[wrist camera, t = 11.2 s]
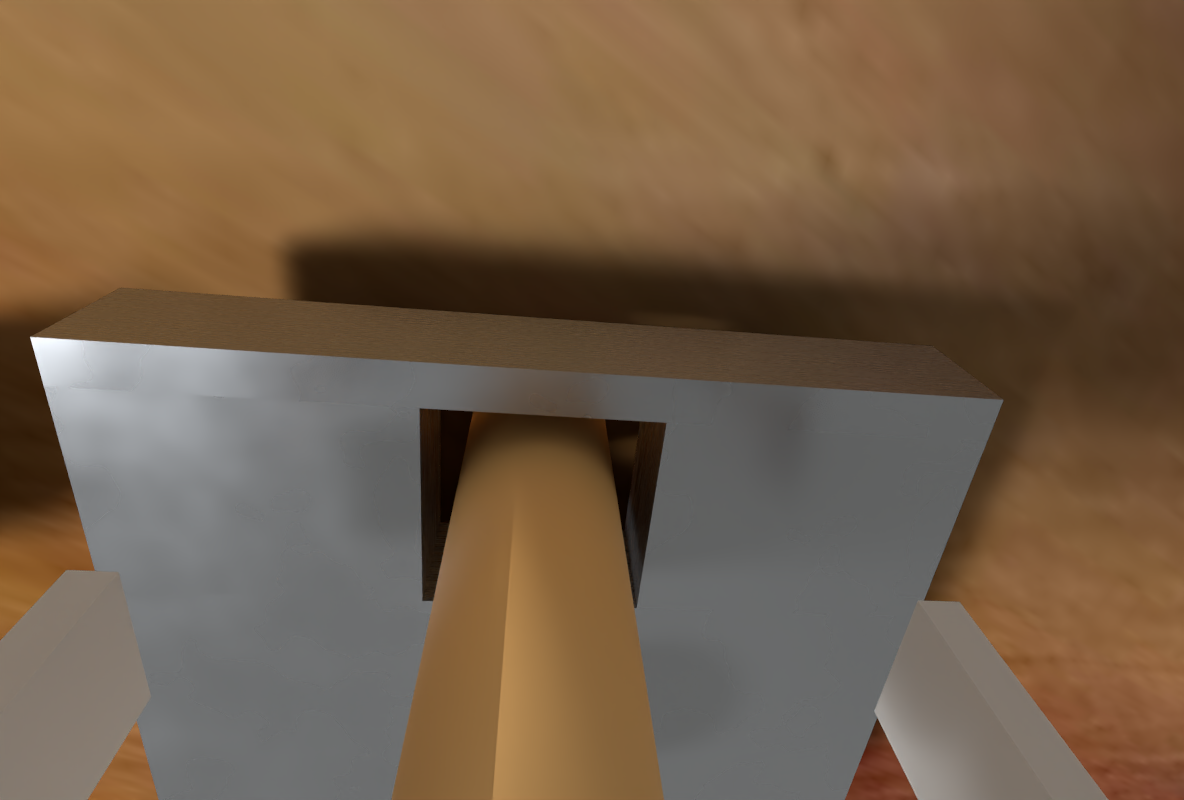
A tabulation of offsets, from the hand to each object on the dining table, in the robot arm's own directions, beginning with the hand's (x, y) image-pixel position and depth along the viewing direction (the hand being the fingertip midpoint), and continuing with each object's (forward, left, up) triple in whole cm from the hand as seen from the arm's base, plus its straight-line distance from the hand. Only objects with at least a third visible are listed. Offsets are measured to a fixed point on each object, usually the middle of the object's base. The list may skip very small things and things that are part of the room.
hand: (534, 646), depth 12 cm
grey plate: (+7, 0, -10) cm, 12 cm away
